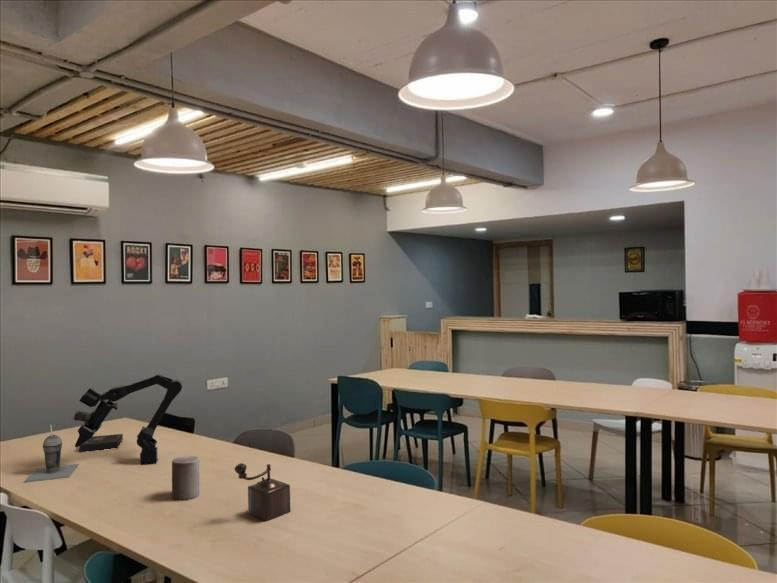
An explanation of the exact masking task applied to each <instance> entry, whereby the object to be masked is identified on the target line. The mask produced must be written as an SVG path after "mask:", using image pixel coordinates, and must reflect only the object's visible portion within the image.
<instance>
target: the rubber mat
mask: <svg viewBox="0 0 777 583" xmlns="http://www.w3.org/2000/svg"><path fill="white" fill-rule="evenodd" d="M78 466H79V463H72V464H62V465H60V467H59V472H56V473H51V474H48V473H47V470H46V466H44V467H37V468H36V469H35V470H33V472H32V473H30V475H29V476H28V477H27V478H25V480H24V483H31V482H40V481H41V482H42V481H50V480H58V479H67V478H70V477H71V476H72V475H73V473H74V472H75V470H76V469H77V468H78Z"/></svg>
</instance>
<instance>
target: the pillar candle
mask: <svg viewBox="0 0 777 583" xmlns="http://www.w3.org/2000/svg"><path fill="white" fill-rule="evenodd" d="M200 460H201V459H200V457H199V456H196V455H183V456H177V457H175V458H173V459H172V460H171V493H172V494H171V499H172V498H173V499H172V500H174V501H176V500H185V501H190V500H189V499H191V500H193V498H194V499H196V498H198V497H199V496H200V491H201V490H200V484H201V483H200V481H201V480H200V477H201V476H200ZM197 496H198V497H197ZM195 497H196V498H195Z"/></svg>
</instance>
